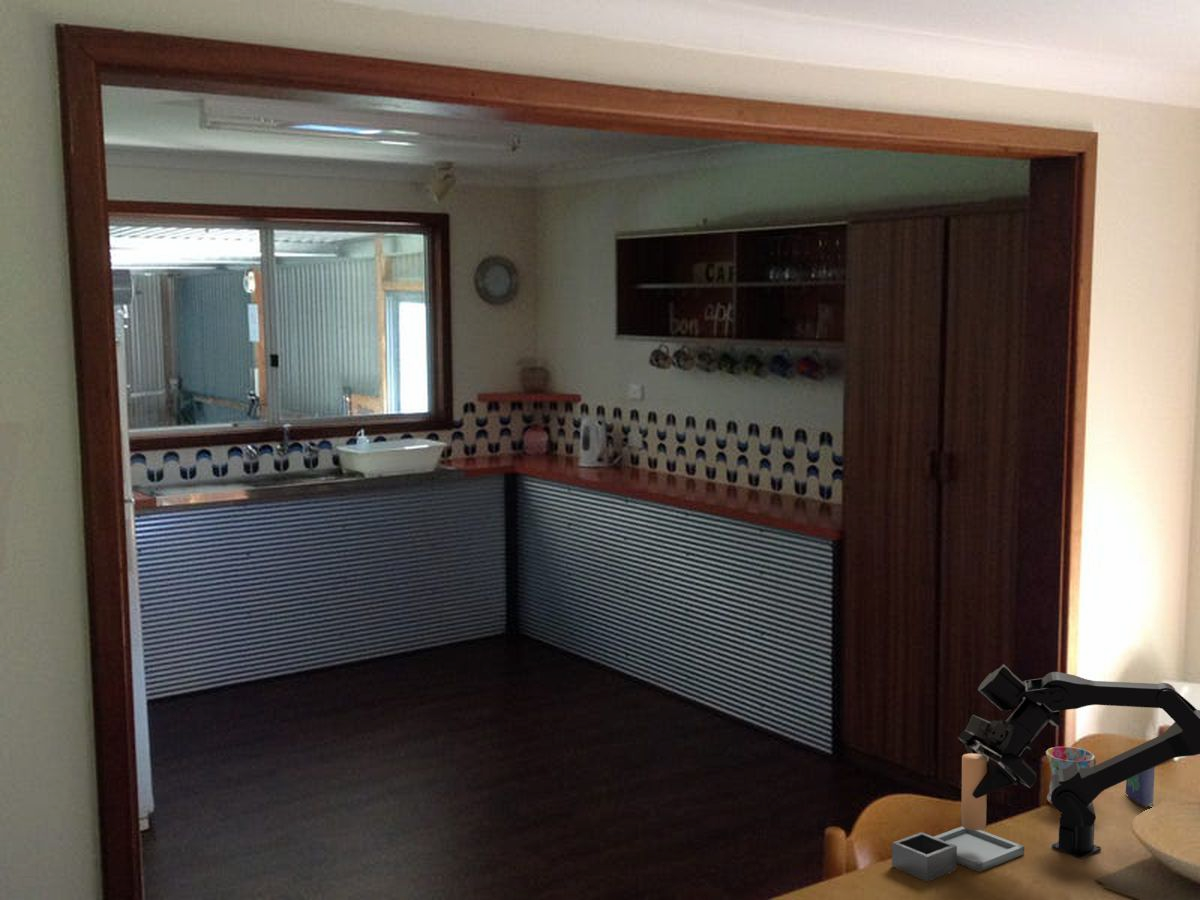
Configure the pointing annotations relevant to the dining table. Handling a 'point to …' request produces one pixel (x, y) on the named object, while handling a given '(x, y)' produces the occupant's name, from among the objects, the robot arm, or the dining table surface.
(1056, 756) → the mug
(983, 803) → the peg
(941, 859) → the square socket holder
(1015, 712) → the robot arm
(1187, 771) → the dining table surface
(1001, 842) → the tray
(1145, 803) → the flask
